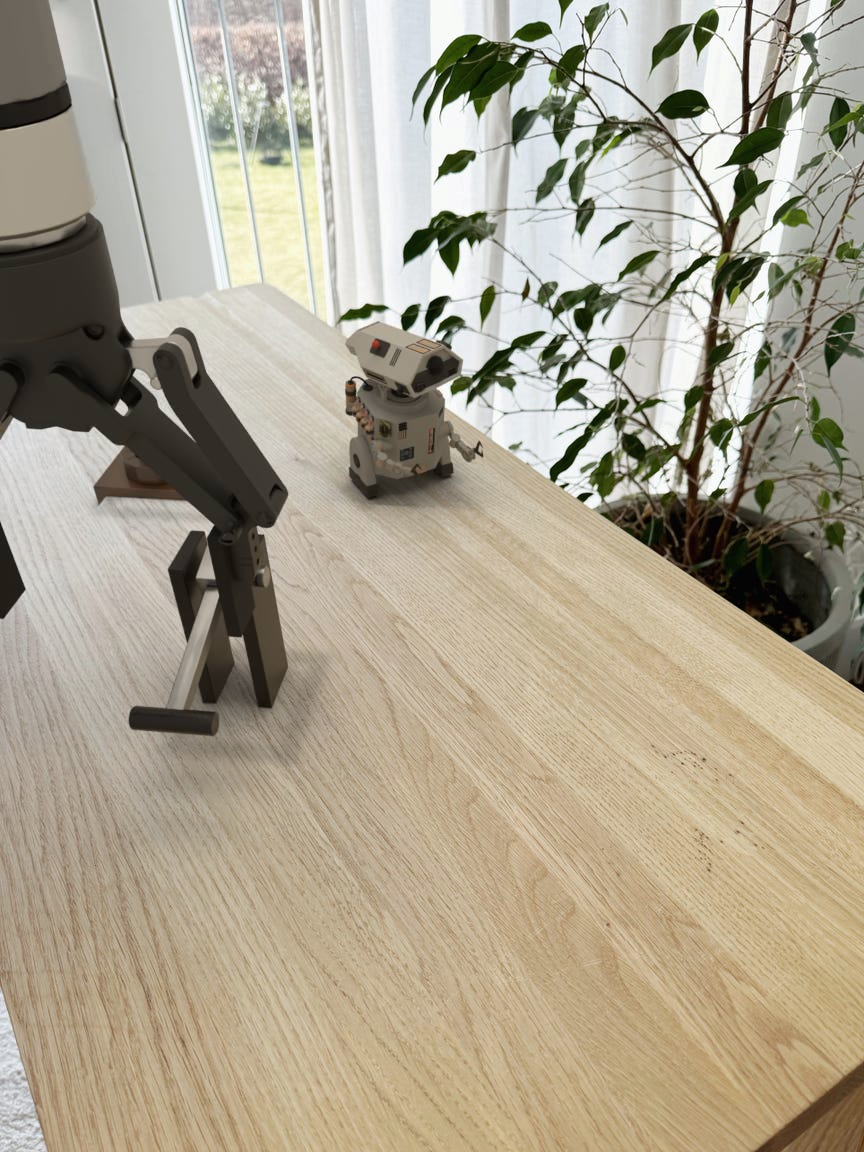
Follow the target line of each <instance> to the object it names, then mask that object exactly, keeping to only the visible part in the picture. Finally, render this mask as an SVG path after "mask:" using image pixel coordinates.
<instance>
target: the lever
mask: <svg viewBox="0 0 864 1152" xmlns="http://www.w3.org/2000/svg"><path fill="white" fill-rule="evenodd" d="M195 579H196V582H197V584H198V586H199V588H200V591H201V593H202V595H203V598H202V601H201V604H200V607H199V610H198V613H197V616H196V619H195V622H194V625H193V628H192V631H191V634H190V637H189V640H188V643H187V642H186V646H185V649H184V652H183V655H182V658H181V661H180V663H179V667H178V671H177V673H176V676H175V679H174V682H173V686H172V689H171V691H170V694H169V697H168V701H167V704H166V707H159V706H148V705H146V706H145V705H134V706H132V707H131V709H130V710H129V713H128V714H129V715H128V726H129V728H130V730H132V731H141V732H154V733H165V734H180V735H190V736H191V735H192V736H203V737H204V736H205V737H215V736H216V735H217V734H218V731H219V728H220V716H219V713H218V712H217V711H213V710H212V711H211V710H201V709H199V710H198V709H192V705H193V702H194V699H195V696H196V693H197V690H198V688H199V687H198V684H199V680H200V677H201V674H202V671H203V668H204V664H205V661H206V658H207V655H208V652H209V649H210V645H211V642H212V639H213V636H214V633H215V630H216V626H217V623H218V620H219V617H220V614H221V611H222V607H221V603H220V598H219V593H218V589H217V584H216V579H215V575H214V570H213V566H212V561H211V556H210V552H209V547H208V545H206V548H205V551H204V554H203V557H202V560H201V563H200V566H199V569H198V571H197V574H196V577H195Z"/></svg>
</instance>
